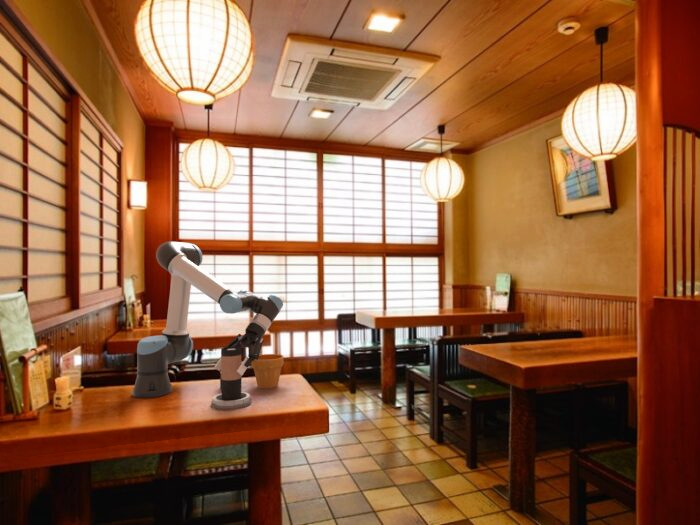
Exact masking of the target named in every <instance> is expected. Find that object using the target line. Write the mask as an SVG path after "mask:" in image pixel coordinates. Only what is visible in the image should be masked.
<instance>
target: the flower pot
mask: <svg viewBox="0 0 700 525" xmlns="http://www.w3.org/2000/svg"><path fill="white" fill-rule="evenodd" d="M284 359H285V358H284V355H282V354H278V353H267V354H266V353H264V354H260V355H259V359H258V360H256V359H255V360H254V361H252V362H251V364H250V365H251V368H253V373H254V377H255V381H256V385H257V388H258V387H259V389H263V388H268V389H274V388H277V387H278V385H279V381H280V377H281V372H282V367H283V366H284ZM276 386H277V387H276ZM273 387H274V388H273Z"/></svg>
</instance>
